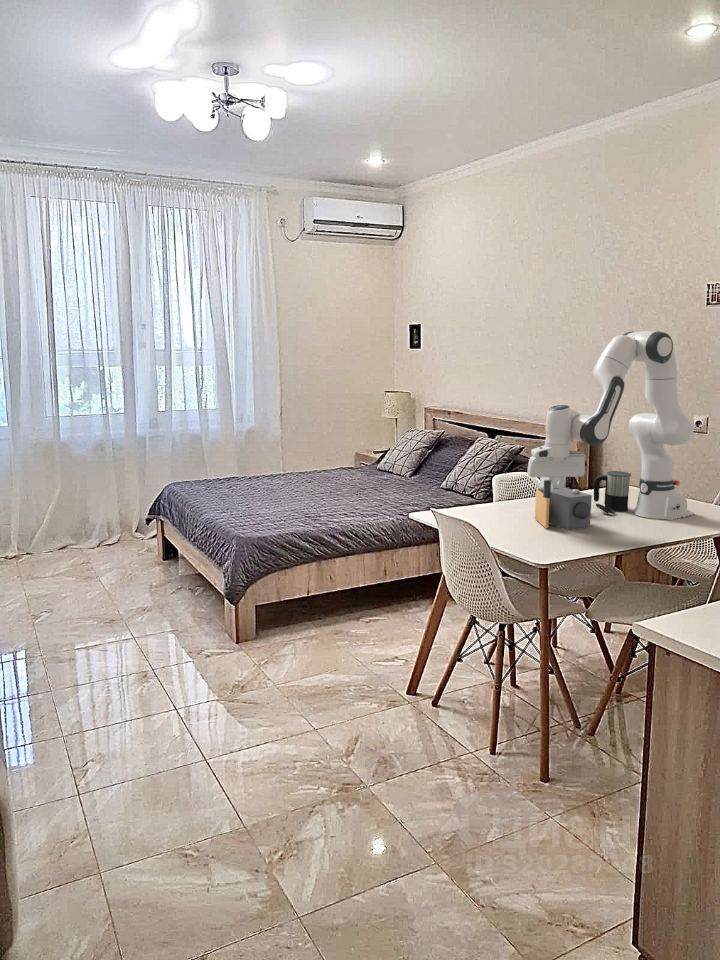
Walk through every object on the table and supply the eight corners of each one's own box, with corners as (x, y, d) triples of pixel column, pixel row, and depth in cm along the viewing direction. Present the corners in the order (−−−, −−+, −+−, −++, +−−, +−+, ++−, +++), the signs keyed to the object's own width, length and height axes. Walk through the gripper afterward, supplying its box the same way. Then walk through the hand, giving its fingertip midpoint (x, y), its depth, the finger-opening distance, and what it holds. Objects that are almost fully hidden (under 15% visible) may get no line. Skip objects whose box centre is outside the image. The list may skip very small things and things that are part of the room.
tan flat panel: (539, 518, 288) (541, 474, 285) (550, 527, 274) (552, 481, 271) (533, 518, 288) (534, 474, 285) (543, 528, 274) (545, 481, 271)
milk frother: (625, 506, 308) (628, 470, 305) (635, 516, 293) (637, 478, 290) (589, 506, 310) (591, 470, 307) (597, 515, 294) (599, 477, 292)
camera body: (558, 516, 293) (560, 482, 290) (593, 528, 275) (595, 493, 272) (537, 519, 289) (538, 485, 286) (571, 531, 271) (573, 495, 268)
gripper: (582, 449, 275) (580, 486, 278) (526, 449, 275) (525, 487, 277) (588, 452, 269) (586, 490, 272) (531, 452, 268) (530, 491, 271)
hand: (555, 488), depth 275 cm, fingers closed
